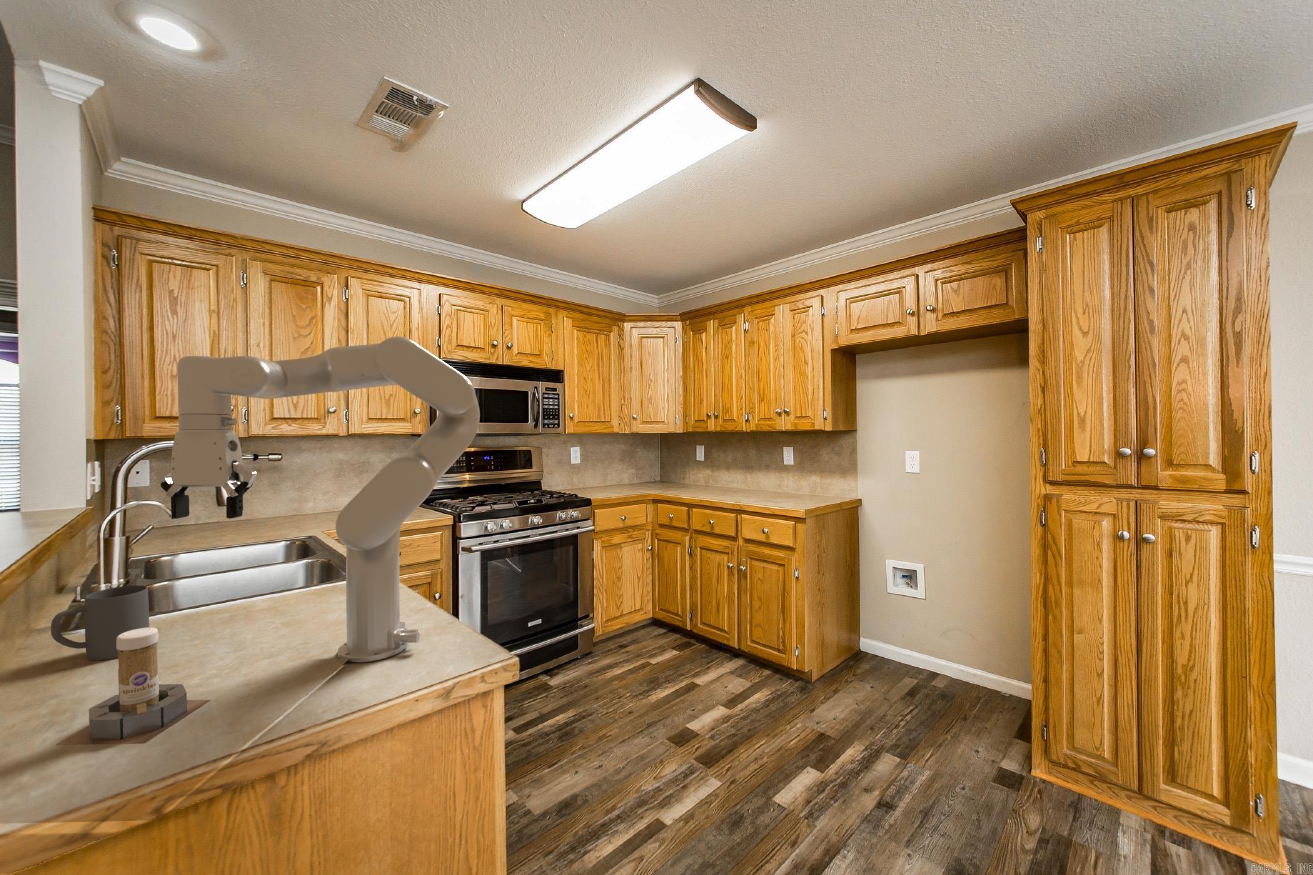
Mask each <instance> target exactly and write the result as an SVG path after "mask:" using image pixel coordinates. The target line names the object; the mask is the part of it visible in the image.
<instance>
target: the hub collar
mask: <svg viewBox="0 0 1313 875" xmlns="http://www.w3.org/2000/svg"><path fill="white" fill-rule="evenodd" d="M158 697H159V702H158V703H156V704H155V705H152V706H148V707H147V706H146V702H145V703H142V704H138V705H136V710H134V711H130V712H120V702H119V694H115V695H112V696H111V697H109V698H107V699H105V700H103V701H102V702H100V703H97V704H95V705H94V706H92V707H89V709H88V727H89V734H90V740H91V741H115V740H122V739H123V740H125V739H128V738H131V737H134V736H138V735H141V734H144V733H148V732H151V731H154V730H158V729H161V727H165V726H167V725H168V724H170V723H171V722H173V721H174V720H176V719H178V718H179V717H181V716H182V715H184V714H185V713H186V712H187V700H188V696H187V691H186V689H185V686H184V684H182V683H173V684H172V683H171V684H170V683H169V684H167V683H164V684H163V683H162V684H160V683H159V694H158Z"/></svg>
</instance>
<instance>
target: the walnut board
mask: <svg viewBox="0 0 1313 875" xmlns="http://www.w3.org/2000/svg"><path fill="white" fill-rule="evenodd" d="M211 701H212V699H187V712H186V713H185V714H184V715H182V716H181V717H179V718H178V719H176V720H174V721H173V722H171V723H170V724H168V725H167V726H165V727H161V729H158V730H154V731H151V732H148V733H144V734H141V735H138V736H134V737H131V738H128V739H125V740H123V739H122V740H115V741H91V740H90V734H89V726H87V727H85V728H84V729H82V730H80V731H78V732H76V733H74V734H73V735H71V736H69V737H67V738H65V739H64V740H62V741H60V742H59V743H56V746H60V745H62V746H63V745H64V746H65V745H66V746H67V745H68V746H70V745H72V746H73V745H121V744H122V745H123V744H124V745H125V744H126V745H128V744H129V745H130V744H132V745H133V744H135V745H136V744H146V743H148V742H149V741H150V740H152V739H154V738H156V737H157V736H158V735H160V734H162V733H163V732H165V731H166V730H168V729H169V728H170V727H172V726H174V725H175V724H177V723H178V722H180V721H181V720H182V719H184V718H186V717H188V716H189V715H191V714H192V713H194V712H195V711H197V710H199V709H201V707H203V706H205V705H206V704H208V703H209V702H211Z"/></svg>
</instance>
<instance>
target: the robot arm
mask: <svg viewBox="0 0 1313 875" xmlns="http://www.w3.org/2000/svg"><path fill="white" fill-rule="evenodd" d="M176 369H177V373H176V374H177V407H178V408H177V409H178V413H177V415H178V432H177V431H176V432H175V436H174V438H173V444H172V449H171V462H170V465H168V466H166V467H164V468H163V469H161V470H158V471H156V473H155V476H156V478H157V481H158V482H159V484H160V488H161V489H162V490H163V491H164V492H166V496H167V497H168V498H170V512H171V514H170V515H171V516H170V517H171V519H172V520H176V519H181V518H186V517H189V516H190V496H189V494H186V493H187V492H188V491H189V490H190V488H191V487H192V488H194V487H197V488H199V487H206V488H207V487H208V488H210V487H222V489H224V491H226V493H227V494H228V495H229V496H226V498H225V512H226V514H225V516H226V518H227V519H229V520H230V519H236V518H240V517H243V515H244V514H243V511H244V496H245V495H246V494H247V493H248V491H249V489H250V488H252V486H253V485H254V484H253V483H254V482H255V480H256V477H257V476H258V473H257V471H256V470H254V469H252V468H250V467H248V466H246V465H244V462H243V454H242V448H241V447H242V446H241V442H240V439H239V435H238V433H237V431H233V430H232V429H233V426H237V424H238V419H236V418H232V417H233V415H232V396H238V397H246V398H252V399H255V398H256V399H265V400H267V399H268V400H271V399H272V400H273V399H281V398H290V397H291V398H292V397H299V396H301V397H302V396H307V395H315V394H323V393H337V392H343V391H345V392H346V391H354V390H361V389H369V388H377V387H389V386H396V385H398V386H399V387H401V388H402V389H403V390H405V391H406V392H408V393H410V394H411V395H413V396H415V397H416V398H417V399H419V400H421V401H422V402H424V403H426V404H427V405H428V406H430V407H432V409H434V410H436V411H437V412H438V413H437V417H436V418H435V421H434V422H433V423H432V424H431V425H430V426H429V427H428V428H427V429H426V430H425V431H424V432H423V433H422V434H421V435H420V437H419V438H418V439H417V440H416V441H415V442H414V443H413V444H412V445H411V446H410V447H409V448H407V450H405V452H403V453H402V454H401V455H399V456H397V457H395V458H393V459H391V460H390V461H389V462H387V463H386V464H385V466H383V467H382V468H381V469H380V470H379V471H378V473H376V475H374V476H373V478H371V479H370V480H369V482H367V484H366V485H365V486H364V487H363V488H362V489H361V490H360V491H358V492H357V494H355V496H354V497H352V499H351V500H350V501H349V502H348V503H347V504H346V505H345V506H343V508H341V510H340V512H338V515H337V517H336V521H335V533H336V537H337V538H338V539H339V541H340V542H341V544H342V545H344V546H345V547H346V551H345V552H346V553H345V554H346V556H345V591H346V592H345V593H346V594H345V597H346V599H345V600H346V602H345V603H346V604H345V606H346V608H345V609H346V642H344V643H342V644H341V645H340V646H339V647H338V649H337V656H338V658H339V659H341V660H342V659H345V660H347V662H348V663H369V662H373V661H381V660H383V659H384V660H385V659H388V658H390V657H393V656H395V655H398V654H399V653H400V654H401V652H403V651H404V650H405V649H407V647H408V645H409V644H411V643H415V644H416V643H417V644H418V643H419V641H420V638H421V636H420V635H421V634H420V632H419V629H415V628H412V629H408V628H406V621H401V620H400V619H401V618H400V616H401V613H400V611H401V610H400V609H401V607H400V605H401V604H400V602H401V600H400V597H401V596H400V593H401V592H400V540H401V539H400V538H401V526H402V525H403V524H404V522H406V520H407V519H408V518H409V517H410V516H411V515H412V514H413V513H414V512H415V511H417V509H418V508H419V507H420V506H421V504H423V502H424V501H425V500H426V499H427V498H428V497H429V496H430V495H431V493H432V492H433V490H434V487H435V486H436V484H437V483H438V482H439V480H440V479H441V478H442V476H443V475H444V474H445V473H446V472H447V471H448V470H449V469H450V468H451V467H452V466H453V465H454V464H455V463H456V461H457V460H458V459H459V458H460V457H461V456H462V455H463V454H464V452H466V451H467V449H468V447H469V446H470V445H471V443H472V442H473V440H474V438H475V437H476V435H477V432H478V429H479V425H480V419H481V418H480V417H481V413H480V412H481V411H480V410H481V409H480V406H479V402H478V399H477V398H478V397H477V395H476V390H475V387H474V385H473V383H472V382H471V380H470V379H469V378H468V377H467V376H466V375H465V374H463V373H461V372H460V371H459V370H457V369H455V368H454V367H452V366H450V365H449V364H448V363H446V362H445V361H443V360H442V359H440V358H438V357H437V356H435V355H434V354H433V353H432V352H430V351H428V350H427V349H425V348H424V347H422V346H421V345H419V344H418V343H417V342H415V341H414V340H412V339H410V338H408V337H405V336H392V337H388V338H385V339H384V340H382V341H381V342H380V343H372V344H371V343H369V344H361V345H360V344H359V345H347V346H345V345H344V346H335V347H332V348H328V349H326V350H324V351H322V353H319V354H316V355H313V356H308V357H302V358H292V359H282V360H268V359H264V358H260V357H257V356H252V355H239V356H237V355H236V356H227V357H216V356H206V355H205V356H204V355H187V356H182V357H180V359H178V362H177V368H176Z"/></svg>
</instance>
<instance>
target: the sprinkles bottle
mask: <svg viewBox="0 0 1313 875" xmlns="http://www.w3.org/2000/svg"><path fill="white" fill-rule="evenodd" d="M158 641H159V631H158V629H157V628H156V627H149V628H140V629H135V630H131V631H127V632H124V633H122V634H120V635H119V636H118V637H117V639H116V648H117V650H118V657H119V658H118V660H117V661H118V669H117V673H118V674H117V678H118V695H119V702H120V712H130V711H134V710H136V705H138V704H142V703H145V702H146V706H147V707H148V706H152V705H155V704H156V703H158V702H159V697H158V694H159V684H160V682H159V681H160V680H159V660H158V647H157V646H158Z"/></svg>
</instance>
